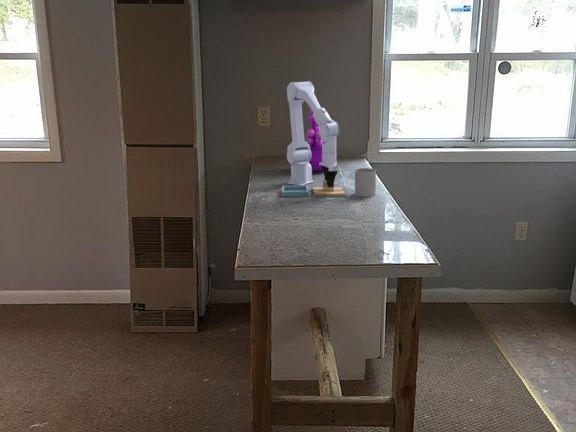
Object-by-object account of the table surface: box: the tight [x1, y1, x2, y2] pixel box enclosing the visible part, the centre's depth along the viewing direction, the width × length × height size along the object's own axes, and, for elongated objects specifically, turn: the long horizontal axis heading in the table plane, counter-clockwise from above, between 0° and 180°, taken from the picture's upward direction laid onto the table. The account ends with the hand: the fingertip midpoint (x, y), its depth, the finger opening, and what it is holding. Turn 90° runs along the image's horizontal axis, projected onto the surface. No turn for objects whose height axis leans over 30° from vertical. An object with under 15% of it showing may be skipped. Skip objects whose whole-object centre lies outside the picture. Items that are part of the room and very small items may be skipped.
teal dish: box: [281, 184, 310, 198], centre depth 254 cm, size 11×11×2 cm
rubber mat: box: [311, 187, 348, 198], centre depth 254 cm, size 14×14×1 cm
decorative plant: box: [296, 108, 323, 172], centre depth 294 cm, size 19×18×30 cm
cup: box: [354, 167, 377, 198], centre depth 250 cm, size 8×8×10 cm
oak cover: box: [312, 179, 345, 196], centre depth 253 cm, size 12×12×5 cm
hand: (329, 184), depth 253 cm, fingers open, 7 cm apart
